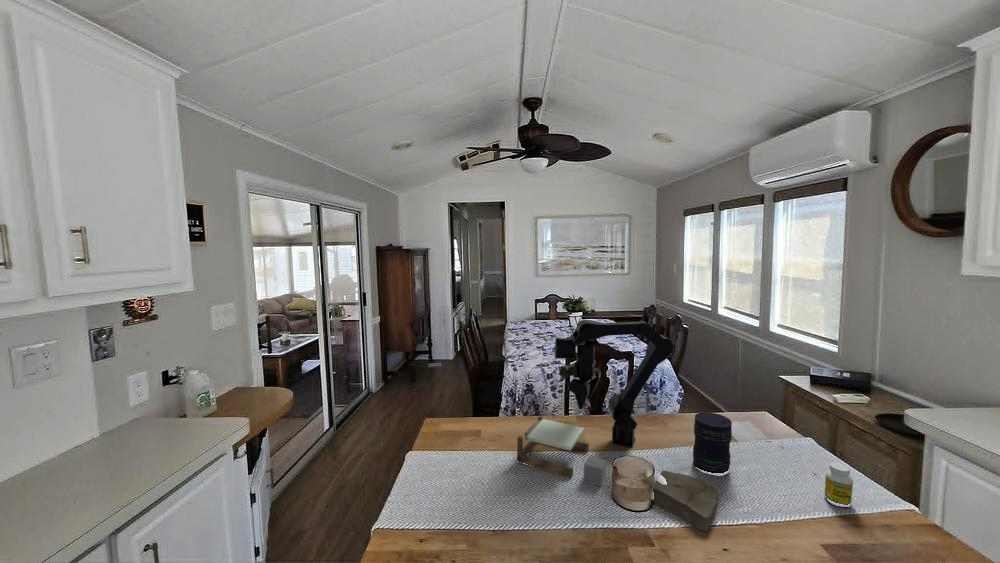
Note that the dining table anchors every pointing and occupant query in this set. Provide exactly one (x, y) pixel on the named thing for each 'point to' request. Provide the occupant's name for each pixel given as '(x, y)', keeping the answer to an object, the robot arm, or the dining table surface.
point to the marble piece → (687, 499)
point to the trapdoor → (554, 434)
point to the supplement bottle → (838, 484)
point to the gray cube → (595, 470)
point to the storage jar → (712, 442)
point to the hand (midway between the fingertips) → (584, 403)
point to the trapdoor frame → (543, 463)
